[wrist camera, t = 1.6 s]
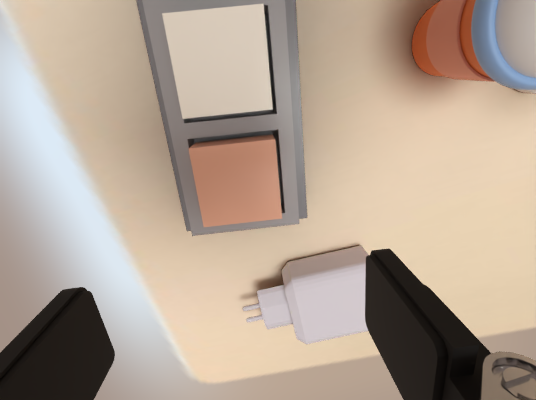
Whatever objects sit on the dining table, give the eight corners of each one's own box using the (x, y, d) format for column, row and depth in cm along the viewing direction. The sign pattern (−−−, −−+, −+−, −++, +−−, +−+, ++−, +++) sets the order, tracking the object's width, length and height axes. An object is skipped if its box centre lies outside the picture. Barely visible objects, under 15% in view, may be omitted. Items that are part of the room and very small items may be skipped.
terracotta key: (196, 142, 23) (188, 148, 21) (272, 134, 24) (275, 139, 21) (208, 212, 26) (203, 227, 23) (278, 205, 26) (282, 218, 23)
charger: (235, 269, 34) (359, 242, 33) (253, 328, 37) (367, 303, 36) (233, 296, 29) (376, 264, 29) (254, 360, 32) (383, 332, 32)
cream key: (174, 24, 20) (162, 13, 18) (261, 16, 21) (263, 3, 18) (191, 116, 23) (182, 118, 20) (270, 107, 23) (272, 109, 20)
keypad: (121, -123, 21) (79, -195, 16) (281, -137, 21) (291, -213, 16) (192, 219, 31) (181, 243, 26) (302, 206, 31) (312, 228, 26)
